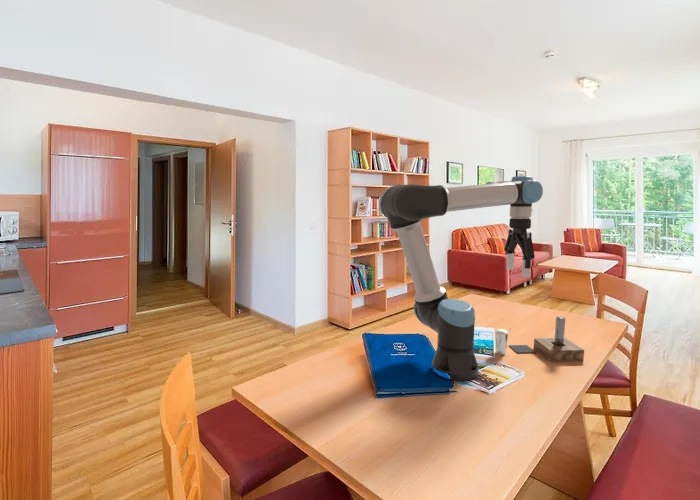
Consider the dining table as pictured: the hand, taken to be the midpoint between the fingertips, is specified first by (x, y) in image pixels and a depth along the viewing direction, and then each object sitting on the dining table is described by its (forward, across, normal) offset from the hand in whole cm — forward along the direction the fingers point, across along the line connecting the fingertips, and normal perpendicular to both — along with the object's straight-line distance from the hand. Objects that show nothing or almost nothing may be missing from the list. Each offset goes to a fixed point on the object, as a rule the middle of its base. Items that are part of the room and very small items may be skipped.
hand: (517, 273), depth 152 cm
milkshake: (+29, -8, +8) cm, 31 cm away
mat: (+29, -5, -1) cm, 29 cm away
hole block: (+29, -10, -12) cm, 33 cm away
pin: (+29, -10, -12) cm, 33 cm away
